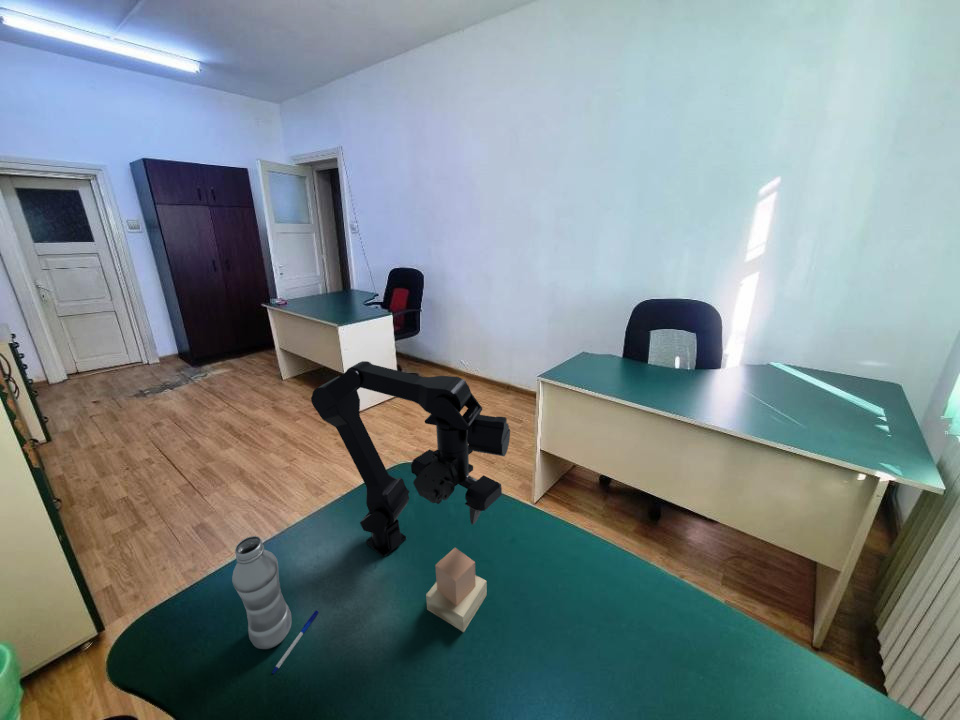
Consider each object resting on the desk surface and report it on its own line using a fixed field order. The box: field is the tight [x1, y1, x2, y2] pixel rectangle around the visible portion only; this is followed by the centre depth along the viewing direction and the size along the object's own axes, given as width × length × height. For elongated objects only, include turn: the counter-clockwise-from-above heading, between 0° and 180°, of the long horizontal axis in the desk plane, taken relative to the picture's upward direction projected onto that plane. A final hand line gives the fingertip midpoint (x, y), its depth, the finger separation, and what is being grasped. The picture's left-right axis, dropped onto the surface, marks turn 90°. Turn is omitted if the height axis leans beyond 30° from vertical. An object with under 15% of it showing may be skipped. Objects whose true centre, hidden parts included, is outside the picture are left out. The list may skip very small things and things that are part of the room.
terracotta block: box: [435, 547, 476, 606], centre depth 67 cm, size 5×5×6 cm
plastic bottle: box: [231, 535, 292, 650], centre depth 61 cm, size 6×7×20 cm
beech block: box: [425, 574, 488, 633], centre depth 69 cm, size 8×8×4 cm
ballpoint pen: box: [271, 610, 319, 675], centre depth 63 cm, size 10×1×1 cm, turn 165°
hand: (455, 512), depth 74 cm, fingers open, 9 cm apart
